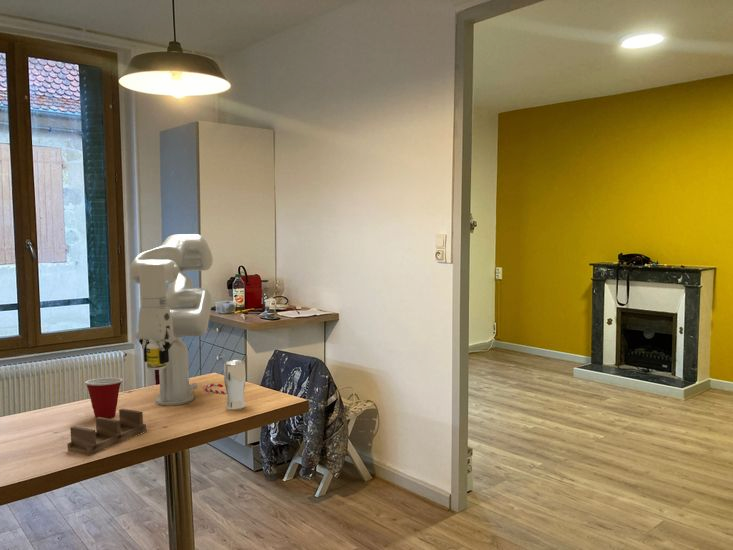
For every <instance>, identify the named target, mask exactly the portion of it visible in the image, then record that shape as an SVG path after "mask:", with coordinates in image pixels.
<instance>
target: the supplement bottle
mask: <svg viewBox="0 0 733 550" xmlns="http://www.w3.org/2000/svg"><path fill="white" fill-rule="evenodd" d="M148 341H149V344H147V346H146V350H147V362H146V365H147V366H146V367H147V369H148V370H152V371H153V370H154V371H157V370H158V371H159V369H163V368H165V367H166V363H164V364H160V357H159V351H161V349H160V345H159V342H158V341H154V340H152V339H149V340H148ZM148 341H147V342H148ZM163 344H164V343H163ZM164 345H165V344H164Z"/></svg>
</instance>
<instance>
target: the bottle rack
mask: <svg viewBox="0 0 733 550" xmlns="http://www.w3.org/2000/svg"><path fill="white" fill-rule="evenodd" d="M143 413H144V412H143V411H140V410H135V409H134V410H132V409H127V408H120V409H118V414H119V415H118V416H119V418H118V419H113V418H110V419H108V418H103V417H98V418H95V428H96V429H90V428H86V427H81V426H75V425H73V426H70V429H69V430H70V442H67V443H66V444H67V446H66V447H67V453H73V454H77V453H78V455H82V456H87V455H88V456H87V457H90V456H93V455H94V454H97V453H100V452H102V451H104V450H107V449H108V448H111V447H113V446H117V445H118V444H121V443H123V442H126V441H128V440H129V438H130V439H132V438H135V437H136V435H137V436H139V435H142V434H144V433H146V432H147V423H144V418H143V417H144V416H143V415H144V414H143ZM143 432H144V433H143ZM141 433H142V434H141ZM138 434H139V435H138ZM134 436H135V437H134ZM131 437H132V438H131ZM127 439H128V440H127ZM122 441H123V442H122ZM106 448H107V449H106Z"/></svg>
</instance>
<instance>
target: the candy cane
mask: <svg viewBox="0 0 733 550" xmlns="http://www.w3.org/2000/svg"><path fill="white" fill-rule="evenodd" d="M212 386H213V387H219V388H224V385H223V384H221V383H210V384H206V385H204V387H203V391H204V390H205V392H207V393H211V392H212V393H213V394H218V393H219V394H218V395H226V394H227V392H226V390H217V389H211V387H212ZM213 387H212V388H213Z"/></svg>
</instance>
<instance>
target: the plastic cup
mask: <svg viewBox="0 0 733 550" xmlns="http://www.w3.org/2000/svg"><path fill="white" fill-rule="evenodd" d="M122 383H123V378H120V377H100V378H92V379H88V380H86V381H85V382H84V384H85V385H86V387H87V391H88V393H89V398H90V402H91V407H92V409H93V414H94V418H95V419H96V418H98V417H103V418H108V419H113V418H115V416H116V414H117V413H116V412H117V407H118V400H119V392H120V388H121V384H122Z"/></svg>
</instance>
